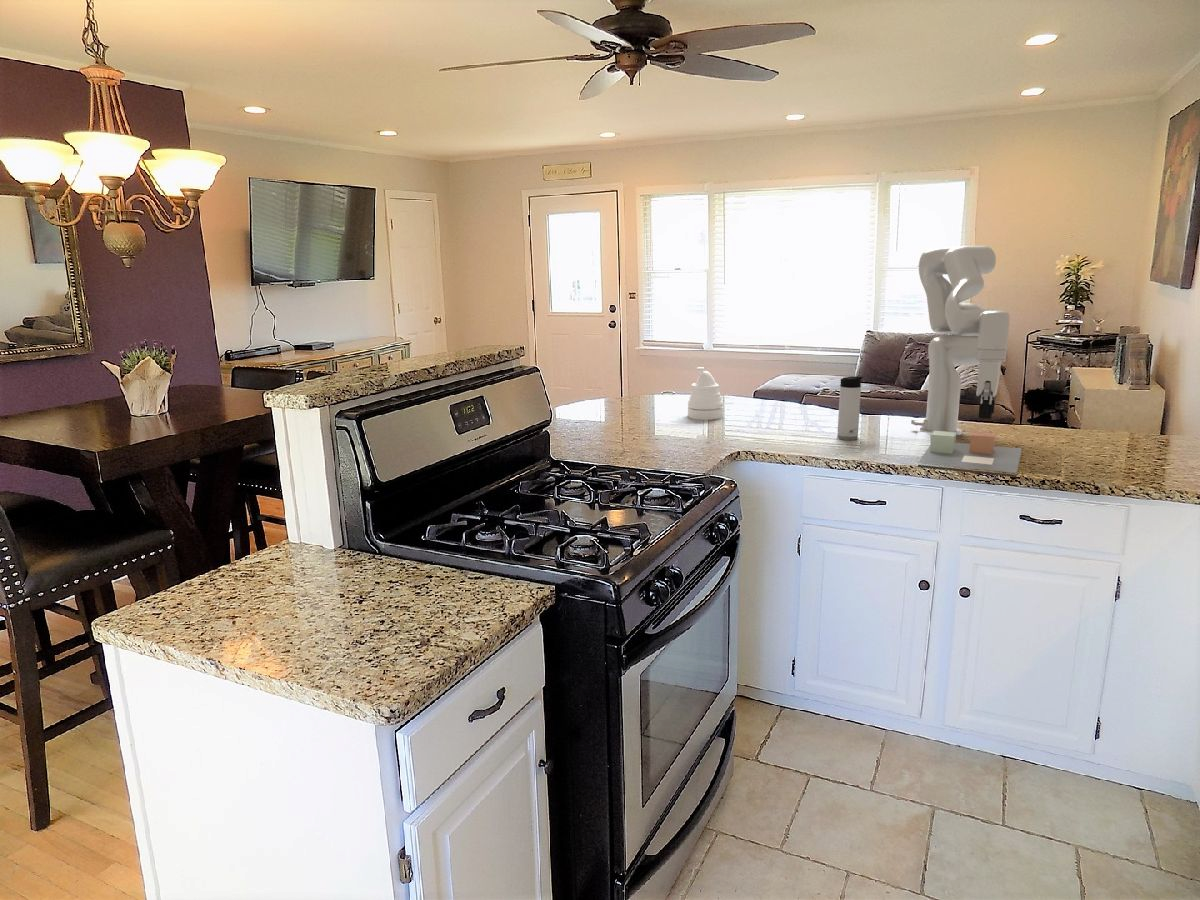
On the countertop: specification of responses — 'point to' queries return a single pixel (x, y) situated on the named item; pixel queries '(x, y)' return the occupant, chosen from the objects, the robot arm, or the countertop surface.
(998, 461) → the baseplate
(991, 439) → the terracotta brick
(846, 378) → the travel mug
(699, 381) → the honey pot
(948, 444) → the sage brick
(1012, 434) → the countertop surface
